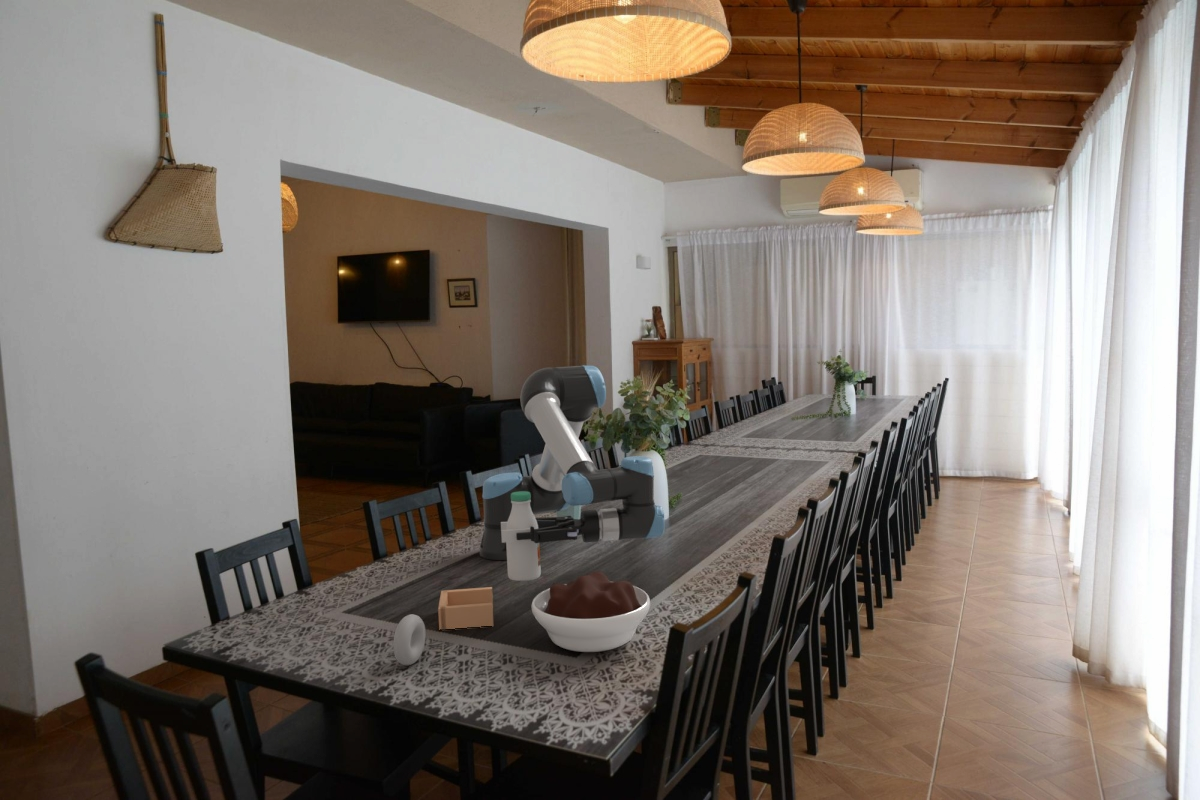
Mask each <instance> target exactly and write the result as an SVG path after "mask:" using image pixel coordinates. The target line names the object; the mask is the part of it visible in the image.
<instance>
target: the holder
mask: <svg viewBox="0 0 1200 800" xmlns="http://www.w3.org/2000/svg"><path fill="white" fill-rule="evenodd" d="M437 611H438V630H440V629H455V628H467V627H480V628H482V627H481V626H492V627H494V612H493V611H494V600H493V586H488V587H485V586H484V587H475V588H459V589H447V590H444V589H443V590H441V592H440V597H439V602H438V608H437ZM467 629H468V628H467ZM455 630H456V629H455Z"/></svg>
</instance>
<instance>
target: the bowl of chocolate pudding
mask: <svg viewBox="0 0 1200 800" xmlns="http://www.w3.org/2000/svg"><path fill="white" fill-rule="evenodd" d="M650 608H651V599H650V596H649V595H648V593H646V591H645V590H644V589H641V588H639V587H637V586H636V585H633V584H632V582H631V581H629V580H616V581H611V580H609V578H608V576H606V574H605V573H603V572H602V571H598V570H595V571H594V572H593V571H592V572H591V573H589V574H588V575H587V574H584V575H580V576H578V577H577V578H576V579H575V580H571V581H569V582H568V583H559V582H558V583H557V582H556V583H555V582H553V583H552V586H550V587H549V588H547V589H544V590H543V591H541V592H540V593H538V594H537V595H536V596H535V597H534V598H533V599H532V603H531V613H532V615H533V616H534V617H535V620H536V621H537V622H538V624H540V625H541V627H543V628H544V629H545V630H546V633H547V635H548V637H549V638H550V640H551V641H552V642H553V644H555V645H556V646H559V647H560V648H563V649H564V650H565V649H566V650H568V651H573V652H581V653H596V652H597V653H598V652H606V651H610V650H613V649H616V648H619V647H621V646H624V645H625V644H627V643H628V642H630V641H631V640H632V639H633V637H634V636H635V634H636V631H637V628H638V625H640V624H641V623H642V622H643V620H644V619H645V618H646V616H647V614H648V612H649V610H650Z"/></svg>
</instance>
